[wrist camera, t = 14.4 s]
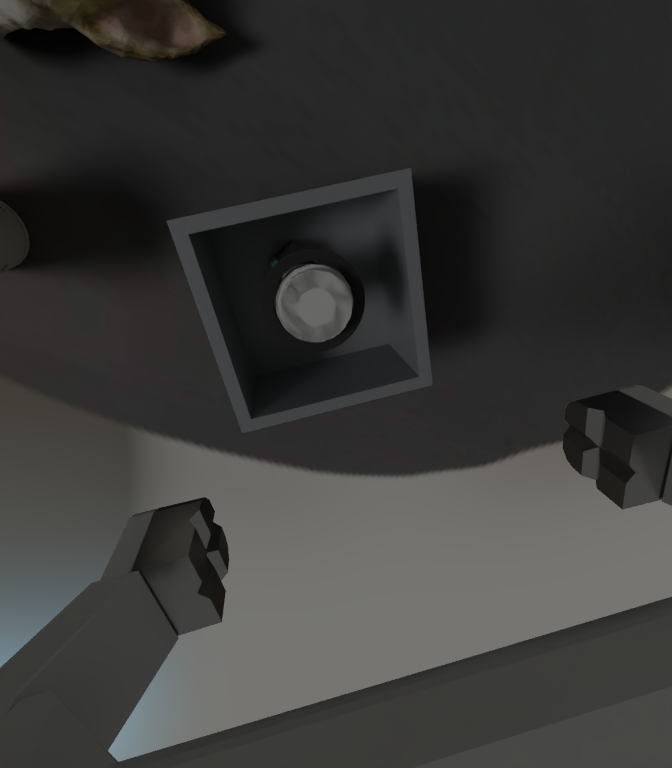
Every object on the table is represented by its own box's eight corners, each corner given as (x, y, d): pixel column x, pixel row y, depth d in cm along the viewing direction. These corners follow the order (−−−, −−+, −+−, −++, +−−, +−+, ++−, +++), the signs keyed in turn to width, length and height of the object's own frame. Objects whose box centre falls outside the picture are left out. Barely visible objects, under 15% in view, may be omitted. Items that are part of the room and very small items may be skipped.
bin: (372, 180, 27) (410, 167, 20) (395, 346, 32) (432, 384, 25) (194, 218, 26) (166, 220, 19) (248, 382, 32) (242, 433, 24)
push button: (362, 293, 29) (405, 329, 20) (310, 340, 30) (328, 394, 21) (303, 220, 26) (322, 224, 17) (247, 273, 27) (237, 303, 18)
